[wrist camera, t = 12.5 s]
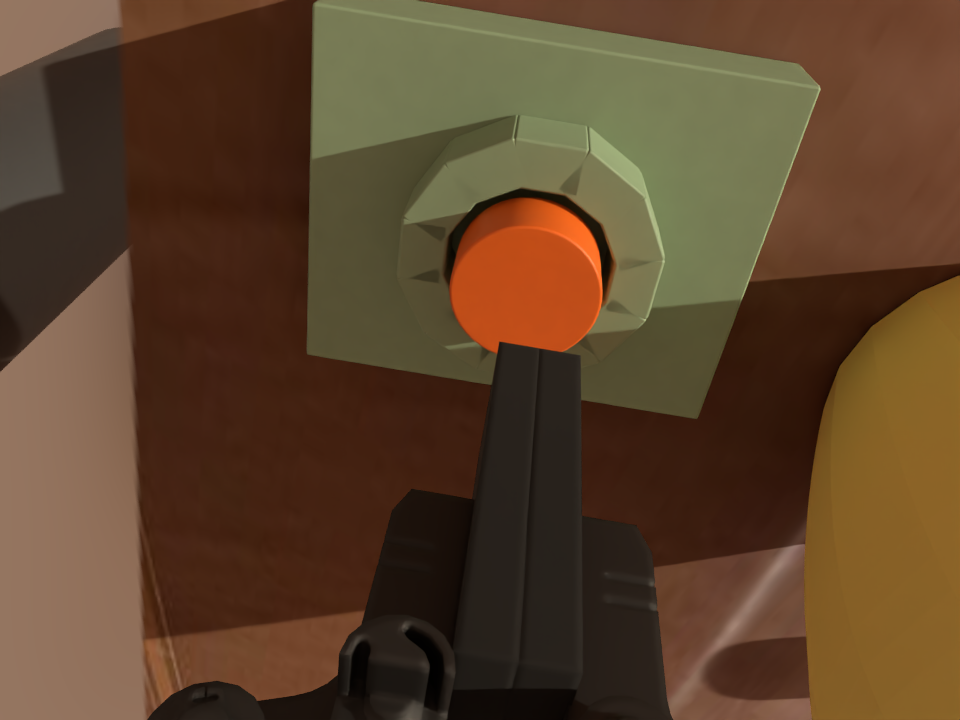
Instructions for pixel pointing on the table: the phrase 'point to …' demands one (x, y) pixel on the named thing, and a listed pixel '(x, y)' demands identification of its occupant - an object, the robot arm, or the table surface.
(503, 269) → the button
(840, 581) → the vase
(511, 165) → the control block
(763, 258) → the table surface
